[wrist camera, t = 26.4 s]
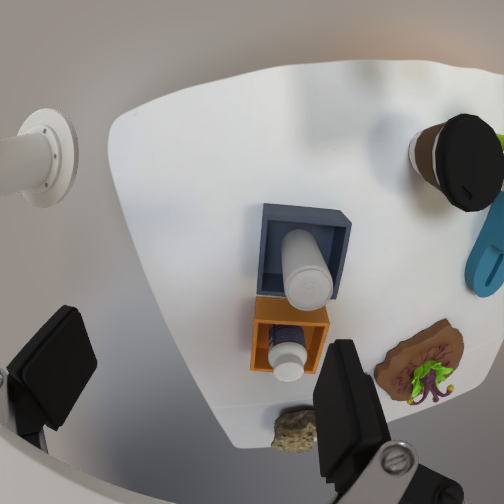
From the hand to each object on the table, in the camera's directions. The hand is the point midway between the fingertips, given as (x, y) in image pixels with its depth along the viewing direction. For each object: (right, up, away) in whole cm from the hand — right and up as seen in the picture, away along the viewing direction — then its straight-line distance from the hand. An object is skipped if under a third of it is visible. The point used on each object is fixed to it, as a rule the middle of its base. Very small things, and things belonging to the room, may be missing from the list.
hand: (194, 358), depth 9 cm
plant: (+37, -18, +36) cm, 55 cm away
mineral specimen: (+13, -33, +44) cm, 57 cm away
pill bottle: (+7, -8, +33) cm, 35 cm away
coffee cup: (+26, +17, +22) cm, 38 cm away
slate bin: (+8, +5, +28) cm, 30 cm away
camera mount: (+45, +5, +26) cm, 52 cm away
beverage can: (+8, +5, +28) cm, 29 cm away
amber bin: (+7, -8, +34) cm, 35 cm away
